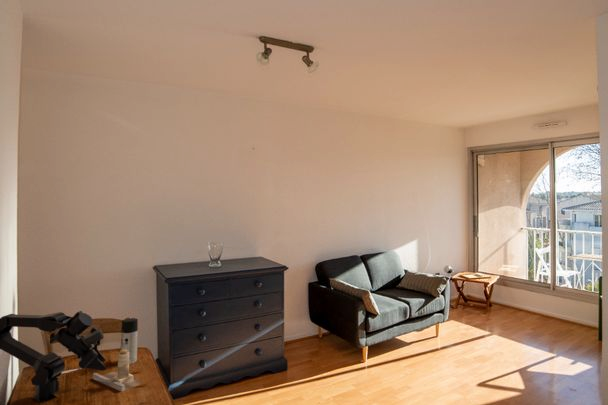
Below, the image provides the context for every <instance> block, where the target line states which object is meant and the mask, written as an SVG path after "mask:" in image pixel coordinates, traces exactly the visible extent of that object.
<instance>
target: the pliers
mask: <svg viewBox="0 0 608 405" xmlns="http://www.w3.org/2000/svg"><path fill="white" fill-rule="evenodd" d="M80 369H82V368H81V367H79V368H75V369H69V370H68V369H67V370H63V371H62V373H61V375H63V374H68V373H69V374H70V373H72V372H74V371H77V370H80Z"/></svg>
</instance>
